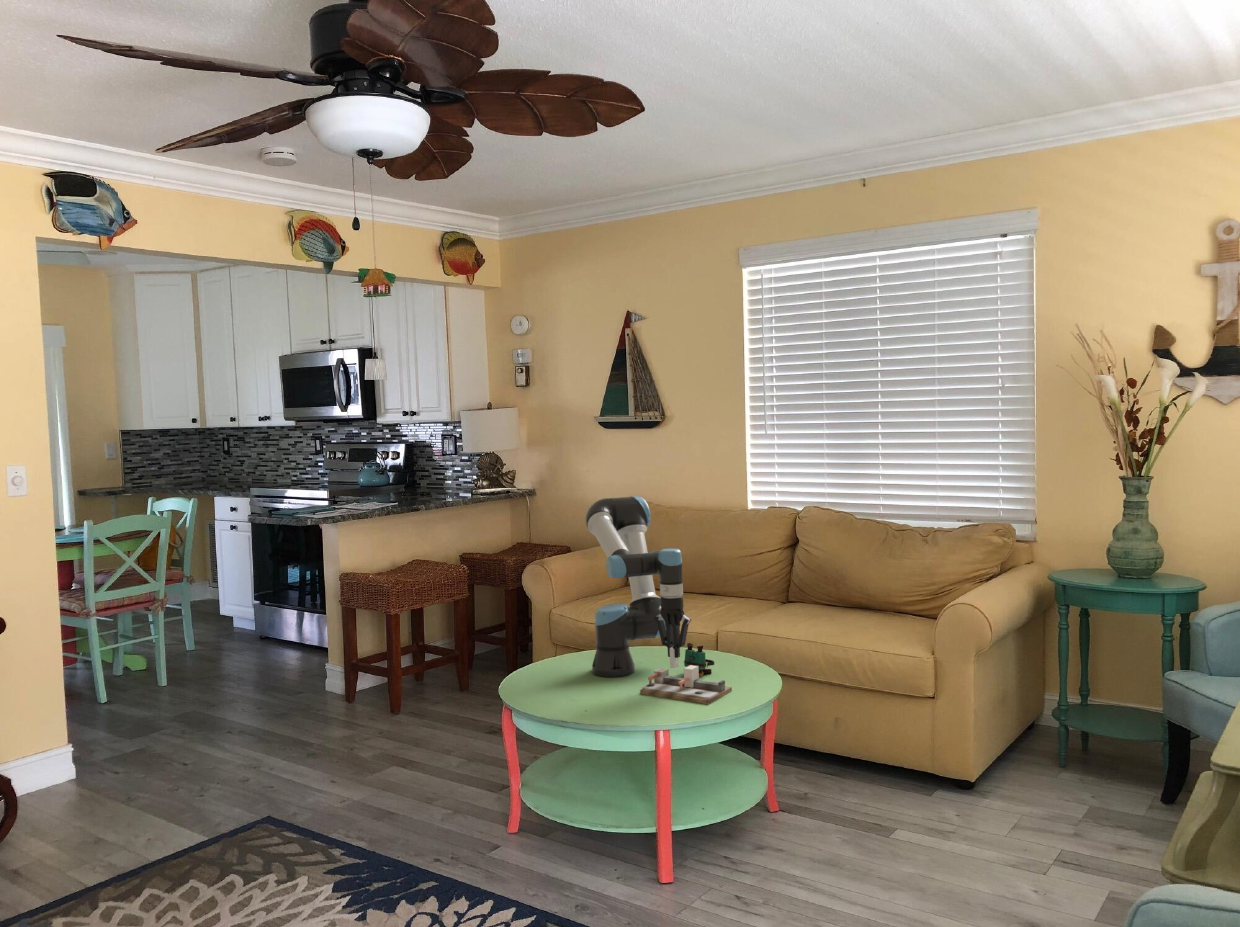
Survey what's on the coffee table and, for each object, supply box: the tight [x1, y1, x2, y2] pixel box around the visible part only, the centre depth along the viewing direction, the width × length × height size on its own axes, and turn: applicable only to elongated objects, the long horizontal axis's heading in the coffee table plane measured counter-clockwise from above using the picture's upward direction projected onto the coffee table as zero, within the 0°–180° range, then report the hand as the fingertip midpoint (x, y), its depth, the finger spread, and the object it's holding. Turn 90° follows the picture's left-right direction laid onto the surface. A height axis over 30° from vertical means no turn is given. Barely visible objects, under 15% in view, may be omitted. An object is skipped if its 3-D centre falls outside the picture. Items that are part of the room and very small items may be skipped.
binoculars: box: [683, 642, 715, 677], centre depth 327 cm, size 9×10×10 cm
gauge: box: [639, 667, 733, 705], centre depth 305 cm, size 25×16×5 cm, turn 57°
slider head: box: [679, 665, 700, 689], centre depth 305 cm, size 3×10×6 cm, turn 147°
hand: (674, 666), depth 310 cm, fingers closed
